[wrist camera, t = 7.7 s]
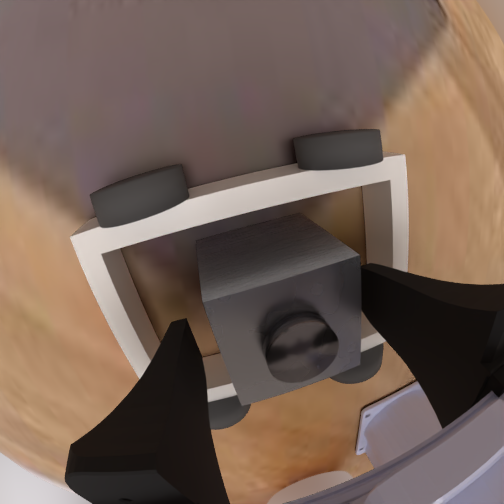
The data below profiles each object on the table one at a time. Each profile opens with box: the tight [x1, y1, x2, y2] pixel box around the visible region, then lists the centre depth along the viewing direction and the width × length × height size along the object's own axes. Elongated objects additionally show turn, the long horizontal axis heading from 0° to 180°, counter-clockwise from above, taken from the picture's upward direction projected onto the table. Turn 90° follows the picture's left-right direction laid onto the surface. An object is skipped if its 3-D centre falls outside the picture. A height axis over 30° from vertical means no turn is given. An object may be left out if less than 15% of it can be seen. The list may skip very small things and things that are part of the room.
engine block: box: [196, 213, 362, 406], centre depth 12 cm, size 5×5×6 cm
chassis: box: [70, 129, 409, 430], centre depth 13 cm, size 12×14×4 cm
